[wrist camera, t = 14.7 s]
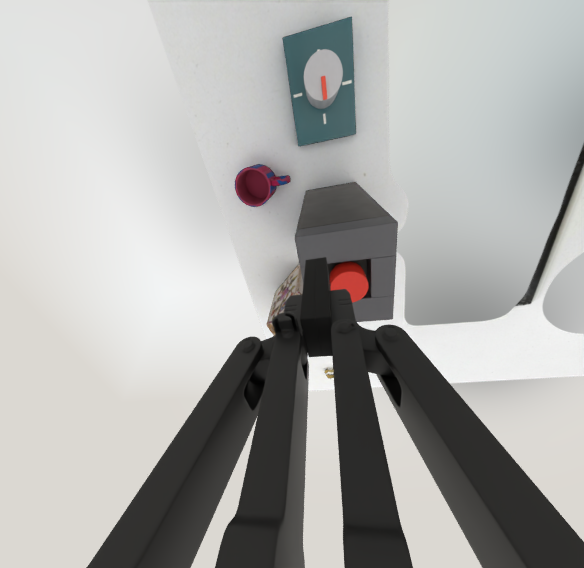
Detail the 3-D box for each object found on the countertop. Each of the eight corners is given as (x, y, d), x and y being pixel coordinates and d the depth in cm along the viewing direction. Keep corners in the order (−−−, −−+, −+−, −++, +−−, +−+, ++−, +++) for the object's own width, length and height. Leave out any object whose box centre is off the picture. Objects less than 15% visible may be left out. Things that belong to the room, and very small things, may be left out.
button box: (305, 190, 47) (294, 237, 23) (355, 181, 45) (398, 222, 21) (313, 244, 53) (311, 325, 29) (357, 238, 51) (393, 319, 27)
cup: (242, 165, 46) (231, 168, 40) (291, 161, 44) (287, 164, 39) (247, 200, 49) (238, 207, 43) (293, 197, 48) (290, 204, 42)
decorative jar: (301, 260, 55) (294, 304, 40) (336, 286, 58) (343, 336, 43) (274, 292, 61) (259, 341, 46) (307, 314, 64) (305, 367, 49)
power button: (327, 263, 26) (328, 274, 24) (364, 259, 25) (368, 269, 23) (331, 293, 28) (332, 304, 26) (365, 289, 27) (369, 301, 25)
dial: (303, 73, 35) (300, 54, 28) (336, 63, 34) (341, 42, 27) (308, 112, 38) (306, 104, 31) (339, 104, 37) (344, 94, 30)
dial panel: (284, 45, 36) (282, 37, 33) (349, 25, 34) (352, 15, 32) (299, 146, 43) (298, 146, 40) (353, 134, 41) (356, 133, 39)
